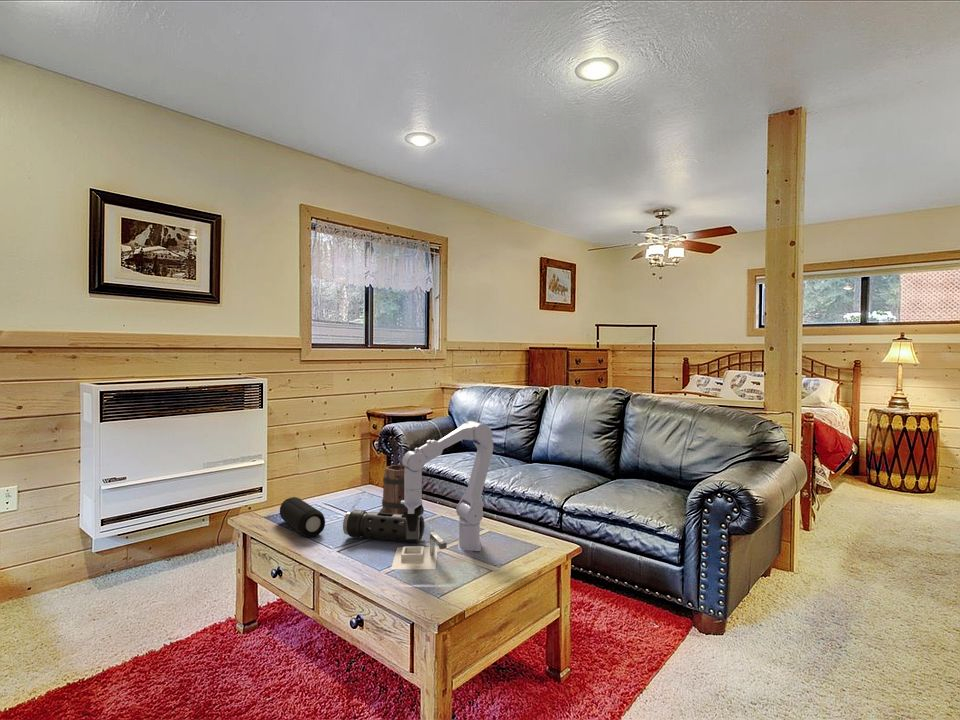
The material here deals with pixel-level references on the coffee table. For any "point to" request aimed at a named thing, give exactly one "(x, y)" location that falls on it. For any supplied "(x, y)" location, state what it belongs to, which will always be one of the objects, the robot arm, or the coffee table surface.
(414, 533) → the plug
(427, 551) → the socket base
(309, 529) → the portable speaker
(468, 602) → the coffee table surface
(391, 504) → the tankard
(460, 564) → the coffee table surface
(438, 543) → the clip
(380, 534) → the muzzle brake
